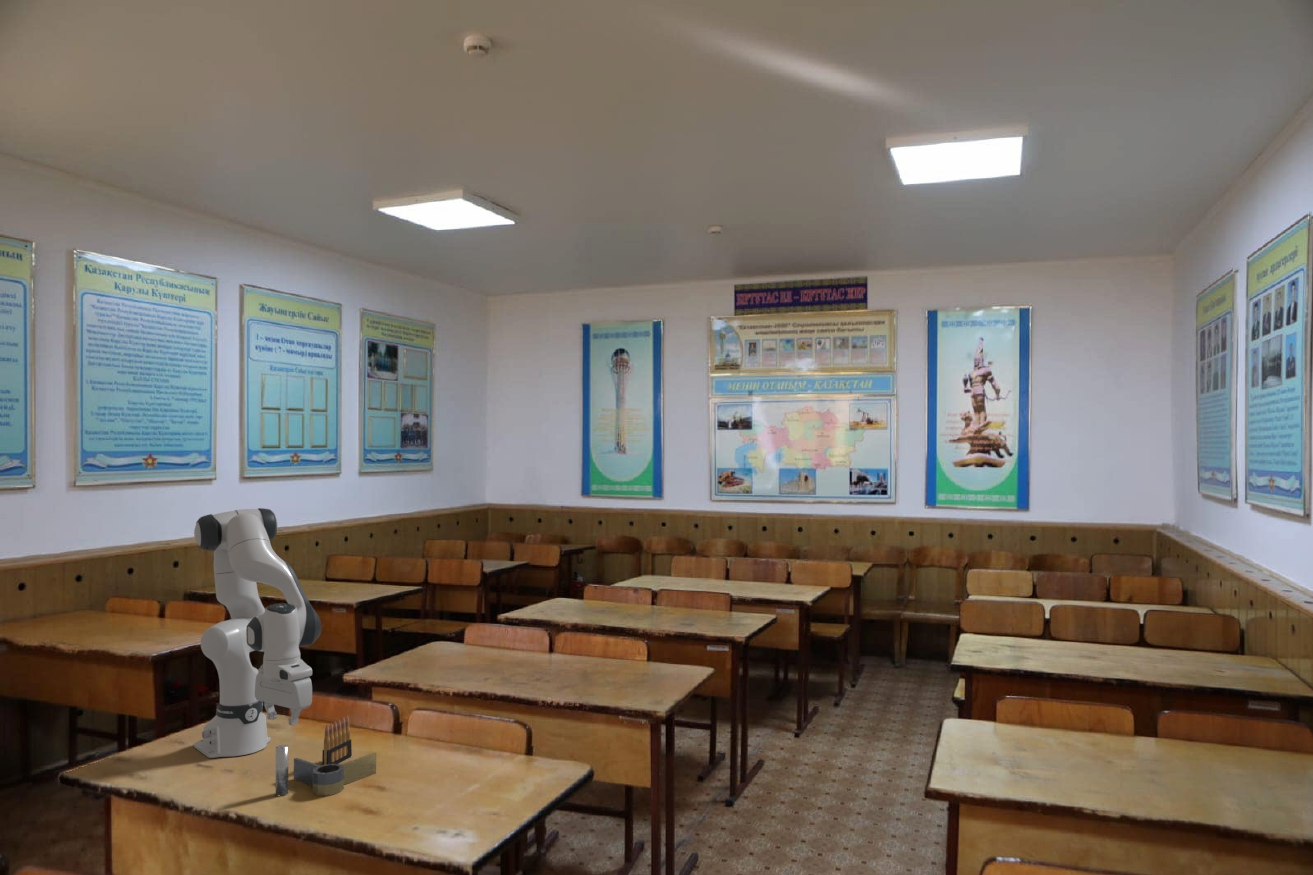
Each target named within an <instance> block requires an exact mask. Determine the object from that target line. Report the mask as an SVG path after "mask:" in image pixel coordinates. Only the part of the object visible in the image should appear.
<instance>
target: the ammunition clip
mask: <svg viewBox="0 0 1313 875" xmlns="http://www.w3.org/2000/svg"><path fill="white" fill-rule="evenodd" d="M352 750H353V748H352V738H351V729H350V718H349V716H348V715H346V717H342V718H341V720H340V718H339V719H338V720H337V721H336V720H334V722H330V723H329V725H328V724H326V725H325V728H324V739H323V749H322V755H321V757H322V758H321V759H322V760H321V762H322V763H321V766H322V765H327V764H342V762H345V761H346V760H349V759H350V758H351V756H352V757H353V752H352Z"/></svg>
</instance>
